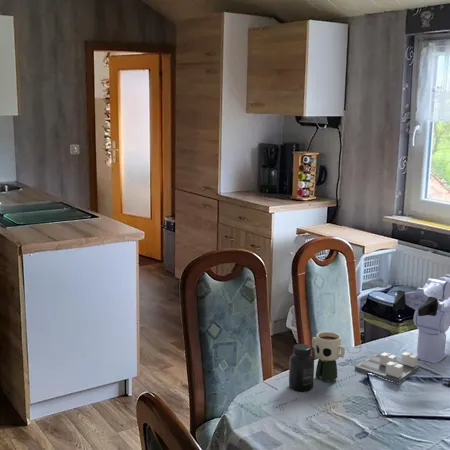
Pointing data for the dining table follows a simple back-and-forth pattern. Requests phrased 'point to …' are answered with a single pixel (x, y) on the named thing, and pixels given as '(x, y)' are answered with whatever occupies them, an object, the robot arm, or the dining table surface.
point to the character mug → (327, 354)
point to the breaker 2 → (409, 359)
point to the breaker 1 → (394, 369)
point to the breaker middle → (387, 358)
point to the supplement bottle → (301, 369)
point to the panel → (384, 369)
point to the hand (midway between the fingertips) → (406, 309)
